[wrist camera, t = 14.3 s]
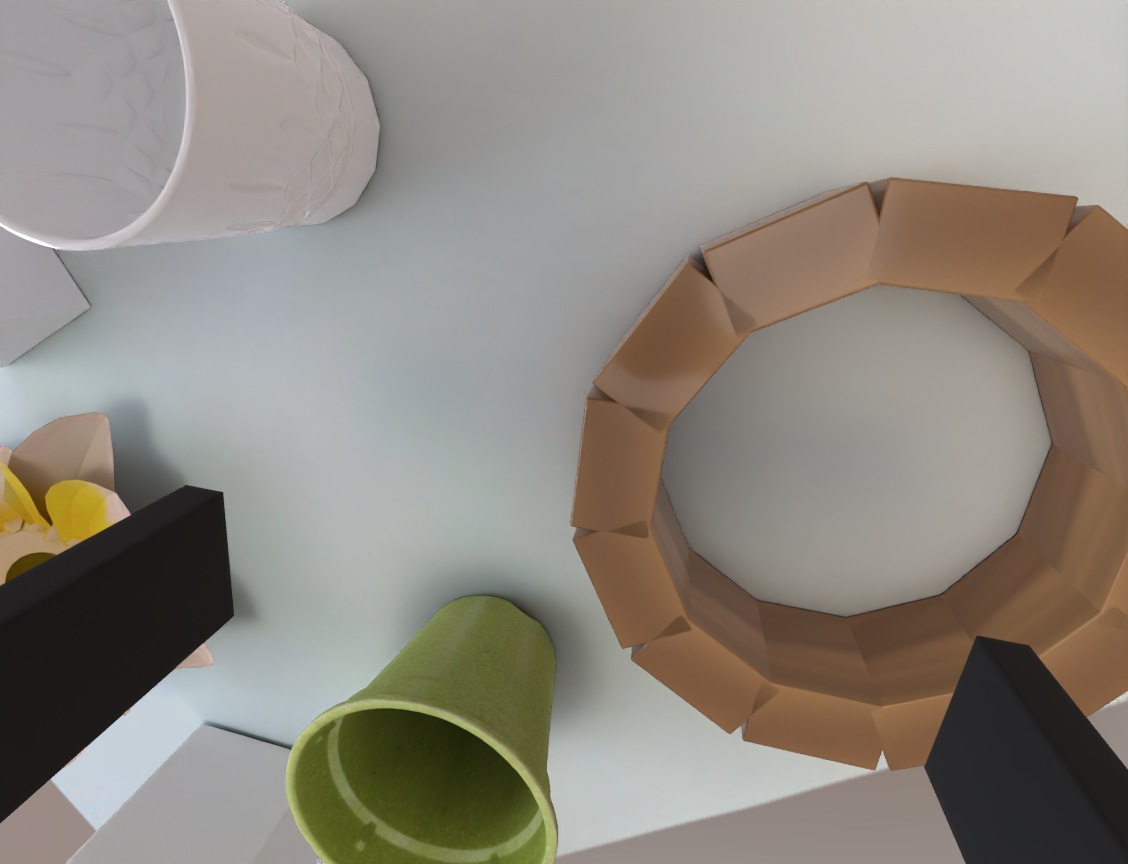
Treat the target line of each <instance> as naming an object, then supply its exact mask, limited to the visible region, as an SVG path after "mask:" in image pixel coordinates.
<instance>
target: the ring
mask: <svg viewBox="0 0 1128 864" xmlns="http://www.w3.org/2000/svg"><path fill="white" fill-rule="evenodd" d="M1077 201H1078V197H1076V196H1069V195H1059V194H1049V193H1039V192H1029V191H1020V190H1010V189H1000V188H990V187H980V186H971V185H961V184H951V183H941V182H931V181H922V180H912V179H902V178H892V177H891V178H887V179H883V180H879V181H875V182H870V183H868V182H863V183H859V184H855V185H851V186H847V187H843V188H839V189H834V190H830V191H826V192H824V193H822V194H819V195H817V196H815V197H812V198H810V199H808V200H805V201H803V202H801V203H798V204H796V205H794V206H791V207H789V208H787V209H784V210H782V211H780V212H777V213H775V214H773V215H770V216H768V217H766V218H763V219H761V220H759V221H756V222H754V223H751V224H749V225H747V226H744V227H742V228H740V229H737V230H735V231H733V232H730V233H728V234H726V235H723V236H721V237H719V238H716V239H714V240H712V241H709V242H707V243H705V244H702V245H701V246H700V251H701V253H702V256H703V259H704V262H705V264H706V267H707V270H706V269H705V268H704V267H703V266H701V265H700V264H699V263H698V262H696V261H695V260H694V259H693V258H691V257H690V256H689V255H687V256H686V257H685V259H684V260H683V261H682V262H681V264H680V265H679V266H678V268H677V269H676V270H675V271H674V273H673V274H672V275H671V276H670V278H669V279H668V280H667V282H666V283H665V284H664V285H663V287H662V288H661V289H660V290H659V292H658V293H657V294H656V296H655V297H654V298H653V299H652V301H651V302H650V303H649V304H648V306H647V307H646V308H645V310H644V311H643V312H642V313H641V315H640V316H639V317H638V318H637V320H636V321H635V322H634V324H633V325H632V326H631V327H630V329H629V330H628V331H627V332H626V334H625V335H624V336H623V337H622V339H621V340H620V341H619V343H618V344H617V345H616V346H615V348H614V349H613V350H612V351H611V353H610V355H609V356H608V358H607V360H606V361H605V363H604V365H603V366H602V368H601V370H600V371H599V373H598V375H597V376H596V378H595V379H594V381H593V384H594V386H593V388H592V390H591V392H590V393H589V395H588V397H587V398H586V403H585V411H584V419H583V427H582V435H581V443H580V450H579V458H578V466H577V474H576V482H575V490H574V498H573V506H572V513H571V521H570V524H571V526H573V527H577V529H576V532H575V534H574V537H573V542H574V544H575V546H576V549H577V551H578V553H579V555H580V557H581V560H582V562H583V564H584V566H585V568H586V571H587V573H588V575H589V577H590V579H591V582H592V584H593V586H594V588H595V590H596V593H597V595H598V597H599V599H600V601H601V604H602V606H603V608H604V610H605V612H606V615H607V617H608V619H609V621H610V623H611V626H612V628H613V630H614V632H615V634H616V637H617V639H618V641H619V643H620V645H621V647H622V649H624V648H628V647H632V646H633V647H632V654H631V660H632V661H633V662H635V663H636V664H637V665H639V666H640V667H641V668H643V669H644V670H645V671H647V672H648V673H649V674H651V675H652V676H653V677H655V678H656V679H657V680H659V681H660V682H661V683H663V684H664V685H665V686H666V687H668V688H669V689H670V690H672V691H673V692H674V693H676V694H677V695H678V696H680V697H681V698H682V699H684V700H685V701H686V702H688V703H689V704H690V705H692V706H693V707H694V708H696V709H697V710H698V711H700V712H701V713H702V714H704V715H705V716H706V717H707V718H709V719H710V720H711V721H713V722H714V723H715V724H717V725H718V726H719V727H721V728H722V729H723V730H725V731H726V732H727V733H729V734H731V733H732V732H733V731H735V730H736V729H737V728H738V727H739V726H741V728H742V738H743V740H744V741H747V742H751V743H756V744H760V745H765V746H769V747H773V748H778V749H782V750H787V751H791V752H795V753H800V754H804V755H809V756H813V757H818V758H822V759H826V760H831V761H835V762H840V763H844V764H848V765H853V766H857V767H862V768H866V769H870V770H875V769H876V766H877V764H878V761H879V758H880V755H881V752H882V750H883V753H884V756H885V759H886V761H887V764H888V767H889V769H890V770H891V771H894V770H900V769H906V768H911V767H918V766H923V765H925V764H926V761H927V759H928V756H929V754H930V751H931V749H932V746H933V744H934V741H935V739H936V736H937V734H938V731H939V729H940V726H941V724H942V721H943V719H944V716H945V714H946V711H947V709H948V706H949V704H950V701H951V698H952V696H953V693H954V691H955V688H956V686H957V683H958V681H959V678H960V676H961V673H962V671H963V668H964V666H965V663H966V661H967V658H968V656H969V653H970V651H971V648H972V646H973V643H974V641H975V638H976V636H977V635H978V636H983V637H988V638H993V639H999V640H1004V641H1009V642H1014V643H1020V644H1025V645H1029V646H1030V647H1031V648H1032V650H1033V651H1034V652H1035V653H1036V655H1037V656H1038V657H1039V658H1040V660H1041V661H1042V662H1043V663H1044V665H1045V666H1046V667H1047V669H1048V670H1049V671H1050V672H1051V674H1052V675H1053V676H1054V677H1055V679H1056V680H1057V681H1058V682H1059V684H1060V685H1061V686H1062V687H1063V689H1064V690H1065V691H1066V692H1067V694H1068V695H1069V696H1070V697H1071V699H1072V700H1073V701H1074V703H1075V704H1076V705H1077V706H1078V708H1079V709H1080V710H1081V711H1082V713H1083V714H1084V715H1085V716H1086V718H1087V717H1088V716H1090V715H1091V714H1093V713H1094V712H1096V711H1097V710H1099V709H1100V708H1102V707H1104V706H1105V705H1107V704H1108V703H1110V702H1111V701H1113V700H1114V699H1116V698H1117V697H1119V696H1120V695H1122V694H1123V693H1125V692H1127V691H1128V229H1127V228H1126V227H1124V226H1123V225H1122V224H1121V223H1119V222H1118V221H1117V220H1116V219H1115V218H1113V217H1112V216H1111V215H1110V214H1109V213H1107V212H1106V211H1105V210H1104V209H1103V208H1101V207H1100V206H1098V205H1091V206H1076V204H1077ZM878 284H881V285H889V286H897V287H905V288H913V289H921V290H929V291H937V292H946V293H954V294H960V295H961V296H962V297H963V298H965V299H966V300H967V301H968V302H970V303H971V304H972V305H973V306H974V307H976V308H977V309H978V310H979V311H981V312H982V313H983V314H984V315H986V316H987V317H988V318H989V319H990V320H992V321H993V322H994V323H995V324H997V325H998V326H999V327H1000V328H1002V329H1003V330H1004V331H1005V332H1006V333H1008V334H1009V335H1010V336H1011V337H1013V338H1014V339H1015V340H1016V341H1018V342H1019V343H1020V344H1021V345H1022V346H1024V347H1025V348H1026V349H1027V350H1029V352H1030V356H1031V360H1032V364H1033V368H1034V372H1035V376H1036V380H1037V384H1038V388H1039V392H1040V396H1041V399H1042V403H1043V407H1044V411H1045V415H1046V419H1047V423H1048V427H1049V431H1050V435H1051V439H1052V443H1053V444H1052V446H1051V449H1050V451H1049V454H1048V456H1047V459H1046V462H1045V464H1044V467H1043V469H1042V472H1041V474H1040V477H1039V480H1038V482H1037V485H1036V487H1035V490H1034V492H1033V495H1032V497H1031V500H1030V503H1029V505H1028V508H1027V510H1026V513H1025V515H1024V518H1023V521H1022V523H1021V526H1020V528H1019V531H1018V533H1017V535H1016V536H1014V537H1013V538H1012V539H1011V540H1009V541H1008V542H1007V543H1006V544H1004V545H1003V546H1002V547H1001V548H999V549H998V550H997V551H996V552H994V553H993V554H992V555H991V556H989V557H988V558H987V559H986V560H985V561H983V562H982V563H981V564H980V565H978V566H977V567H976V568H975V569H973V570H972V571H971V572H970V573H968V574H967V575H966V576H965V577H963V578H962V579H961V580H960V581H958V582H957V583H956V584H955V585H953V586H952V587H951V588H950V589H949V590H947V591H946V592H945V593H944V594H942V595H941V596H936V597H932V598H928V599H924V600H920V601H915V602H911V603H907V604H903V605H899V606H894V607H890V608H886V609H882V610H878V611H873V612H869V613H865V614H861V615H857V616H852V617H848V618H844V617H839V616H834V615H829V614H824V613H819V612H814V611H809V610H804V609H798V608H793V607H788V606H783V605H778V604H773V603H768V602H763V601H758V600H756V599H754V598H753V597H752V596H750V595H749V594H748V593H746V592H745V591H744V590H743V589H741V588H740V587H739V586H737V585H736V584H735V583H733V582H732V581H731V580H730V579H728V578H727V577H726V576H724V575H723V574H722V573H720V572H719V571H718V570H717V569H715V568H714V567H713V566H711V565H710V564H709V563H707V562H706V561H705V560H704V559H702V558H701V557H700V556H698V555H697V554H696V553H694V552H693V551H692V550H691V549H690V548H689V546H688V544H687V541H686V539H685V536H684V534H683V531H682V529H681V527H680V524H679V522H678V519H677V517H676V514H675V512H674V509H673V507H672V505H671V502H670V500H669V497H668V495H667V492H666V490H665V488H664V485H663V483H662V480H661V478H660V477H661V471H662V466H663V460H664V454H665V448H666V443H667V437H668V431H669V426H670V424H671V423H672V422H673V420H674V419H675V418H676V417H677V416H678V415H679V414H680V412H681V411H682V410H683V409H684V408H685V407H686V406H687V404H688V403H689V402H690V401H691V400H692V399H693V398H694V396H695V395H696V394H697V393H698V392H699V391H700V390H701V388H702V387H703V386H704V385H705V384H706V383H707V382H708V380H709V379H710V378H711V377H712V376H713V375H714V374H715V372H716V371H717V370H718V369H719V368H720V367H721V366H722V364H723V363H724V362H725V361H726V360H727V359H728V358H729V356H730V355H731V354H732V353H733V352H734V351H735V350H736V348H737V347H738V346H739V345H740V344H741V343H742V342H743V340H744V339H745V338H746V337H747V336H748V335H749V334H750V333H751V332H754V331H757V330H759V329H762V328H765V327H767V326H770V325H772V324H775V323H778V322H780V321H783V320H786V319H788V318H791V317H794V316H796V315H799V314H802V313H804V312H807V311H809V310H812V309H815V308H817V307H820V306H823V305H825V304H828V303H831V302H833V301H836V300H839V299H841V298H844V297H846V296H849V295H852V294H854V293H857V292H860V291H862V290H865V289H868V288H870V287H873V286H876V285H878Z"/></svg>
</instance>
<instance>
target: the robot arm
mask: <svg viewBox="0 0 1128 864" xmlns="http://www.w3.org/2000/svg"><path fill="white" fill-rule="evenodd" d="M233 616H234V610H233V599H232V587H231V576H230V565H229V554H228V542H227V531H226V520H225V509H224V498H223V492H220V491H214V490H209V489H204V488H199V487H193V486H188V485H185V486H183V487H182V488H180V489H178V490H176V491H174V492H172V493H171V494H169V495H167V496H165V497H163V498H161V499H159V500H158V501H156V502H154V503H152V504H150V505H148V506H146V507H145V508H143V509H141V510H139V511H137V512H135V513H134V514H132V515H130V516H128V517H126V518H124V519H122V520H121V521H119V522H117V523H115V524H113V525H111V526H110V527H108V528H106V529H104V530H102V531H100V532H98V533H97V534H95V535H93V536H91V537H89V538H87V539H85V540H84V541H82V542H80V543H78V544H76V545H74V546H73V547H71V548H69V549H67V550H65V551H63V552H61V553H60V554H58V555H56V556H54V557H52V558H50V559H48V560H47V561H45V562H43V563H41V564H39V565H37V566H36V567H34V568H32V569H30V570H28V571H26V572H24V573H23V574H21V575H19V576H17V577H15V578H13V579H11V580H10V581H8V582H6V583H4V584H2V585H0V823H1V822H2V821H3V820H5V819H6V818H7V817H8V816H9V815H10V814H11V813H12V812H14V811H15V810H16V809H17V808H18V807H19V806H20V805H22V804H23V803H24V802H25V801H26V800H27V799H28V798H29V797H30V796H32V795H33V794H34V793H35V792H36V791H37V790H38V789H40V788H41V787H42V786H43V785H44V784H45V783H46V782H47V781H48V780H50V779H51V778H52V777H53V776H54V775H55V774H56V773H58V772H59V771H60V770H61V769H62V768H63V767H64V766H65V765H67V764H68V763H69V762H70V761H71V760H72V759H73V758H75V757H76V756H77V755H78V754H79V753H80V752H81V751H82V750H84V749H85V748H86V747H87V746H88V745H89V744H90V743H91V742H93V741H94V740H95V739H96V738H97V737H98V736H99V735H100V734H102V733H103V732H104V731H105V730H106V729H107V728H108V727H109V726H111V725H112V724H113V723H114V722H115V721H116V720H117V719H118V718H120V717H121V716H122V715H123V714H124V713H125V712H126V711H127V710H129V709H130V708H131V707H132V706H133V705H134V704H135V703H137V702H138V701H139V700H140V699H141V698H142V697H143V696H144V695H146V694H147V693H148V692H149V691H150V690H151V689H152V688H153V687H155V686H156V685H157V684H158V683H159V682H160V681H161V680H162V679H164V678H165V677H166V676H167V675H168V674H169V673H170V672H171V671H173V670H174V669H175V668H176V667H177V666H178V665H179V664H180V663H182V662H183V661H184V660H185V659H186V658H187V657H188V656H189V655H191V654H192V653H193V652H194V651H195V650H196V649H197V648H199V647H200V646H201V645H202V644H203V643H204V642H205V641H206V640H208V639H209V638H210V637H211V636H212V635H213V634H214V633H215V632H217V631H218V630H219V629H220V628H221V627H222V626H223V625H224V624H226V623H227V622H228V621H229V620H230V619H231V618H232V617H233ZM924 768H925V770H926V772H927V775H928V777H929V779H930V782H931V784H932V786H933V788H934V791H935V793H936V795H937V798H938V800H939V802H940V805H941V807H942V809H943V812H944V814H945V816H946V819H947V821H948V823H949V826H950V828H951V830H952V833H953V835H954V837H955V840H956V842H957V844H958V846H959V849H960V851H961V854H962V856H963V858H964V861H965V863H966V864H1128V769H1127V768H1126V767H1125V766H1124V764H1123V763H1122V762H1121V760H1120V759H1119V758H1118V757H1117V755H1116V754H1115V753H1114V752H1113V751H1112V749H1111V748H1110V747H1109V745H1108V744H1107V743H1106V742H1105V740H1104V739H1103V738H1102V737H1101V735H1100V734H1099V733H1098V731H1097V730H1096V729H1095V728H1094V727H1093V725H1092V724H1091V723H1090V721H1089V720H1088V719H1087V718H1086V716H1085V715H1084V714H1083V713H1082V711H1081V710H1080V709H1079V708H1078V706H1077V705H1076V704H1075V703H1074V701H1073V700H1072V699H1071V697H1070V696H1069V695H1068V694H1067V692H1066V691H1065V690H1064V689H1063V687H1062V686H1061V685H1060V684H1059V682H1058V681H1057V680H1056V679H1055V677H1054V676H1053V675H1052V674H1051V672H1050V671H1049V670H1048V669H1047V667H1046V666H1045V665H1044V663H1043V662H1042V661H1041V660H1040V658H1039V657H1038V656H1037V655H1036V653H1035V652H1034V651H1033V650H1032V648H1031V647H1030V646H1029V645H1025V644H1020V643H1014V642H1009V641H1004V640H999V639H993V638H988V637H983V636H978V635H977V636H976V638H975V641H974V643H973V646H972V648H971V651H970V653H969V656H968V658H967V661H966V663H965V666H964V668H963V671H962V673H961V676H960V678H959V681H958V683H957V686H956V688H955V691H954V693H953V696H952V698H951V701H950V704H949V706H948V709H947V711H946V714H945V716H944V719H943V721H942V724H941V726H940V729H939V731H938V734H937V736H936V739H935V741H934V744H933V746H932V749H931V751H930V754H929V756H928V759H927V761H926V764H925V766H924Z"/></svg>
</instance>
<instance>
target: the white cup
mask: <svg viewBox="0 0 1128 864" xmlns="http://www.w3.org/2000/svg"><path fill="white" fill-rule="evenodd" d="M379 133H380V123H379V119H378V116H377V112H376V108H375V105H374V101H373V98H372V94H371V90H370V87H369V83H368V80H367V78H366V77H365V76H364V74H363V73H362V72H361V71H360V69H359V68H358V67H357V65H356V64H355V63H354V61H353V60H352V59H351V57H350V56H349V55H348V54H347V52H346V51H345V50H344V48H343V47H342V46H341V44H340V43H339V42H338V41H336V40H335V39H333V38H332V37H330V36H329V35H327V34H325V33H324V32H322V31H320V30H319V29H317V28H315V27H314V26H312V25H311V24H309V23H307V22H306V21H304V20H303V19H301V18H300V17H299V16H298V15H297V14H296V13H295V12H293V11H292V10H291V9H290V8H289V7H288V6H286V5H285V4H284V3H283V2H282V1H280V0H0V226H2V227H3V228H5V229H6V230H8V231H10V232H12V233H14V234H16V235H18V236H20V237H22V238H24V239H26V240H29V241H31V242H34V243H37V244H40V245H43V246H47V247H51V248H56V249H61V250H70V251H89V250H99V249H110V248H120V247H130V246H141V245H152V244H164V243H175V242H187V241H198V240H210V239H218V238H225V237H231V236H239V235H248V234H256V233H262V232H270V231H273V230H277V229H280V228H284V227H289V226H301V225H316V224H323V223H325V222H327V221H329V220H330V219H332V218H334V217H335V216H337V215H339V214H340V213H342V212H344V211H345V210H347V209H349V208H351V207H352V206H354V205H355V204H356V202H357V201H358V199H359V197H360V195H361V194H362V192H363V190H364V189H365V187H366V185H367V184H368V182H369V180H370V179H371V177H372V175H373V174H374V172H375V169H376V161H377V152H378V142H379Z"/></svg>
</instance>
